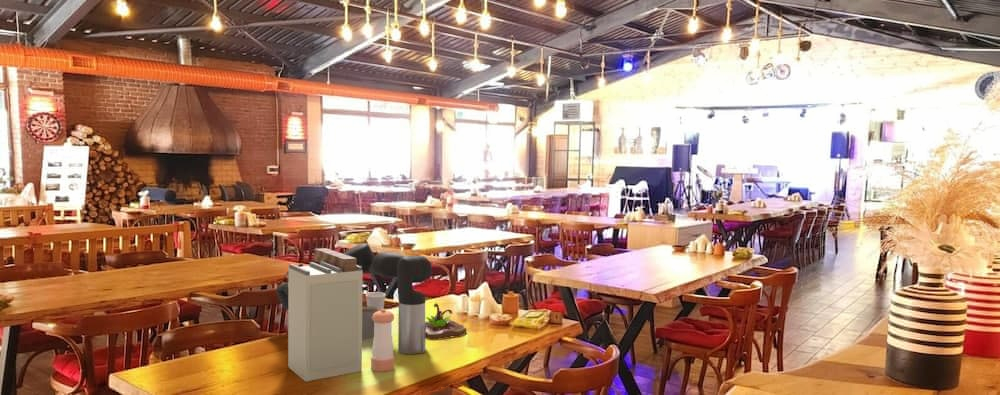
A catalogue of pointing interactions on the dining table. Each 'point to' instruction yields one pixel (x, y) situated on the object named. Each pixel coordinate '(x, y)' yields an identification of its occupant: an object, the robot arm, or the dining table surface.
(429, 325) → the plant
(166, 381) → the dining table surface
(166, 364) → the dining table surface
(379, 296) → the dixie cup
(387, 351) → the pepper shaker
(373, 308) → the coffee mug
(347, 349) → the cabinet
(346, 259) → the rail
